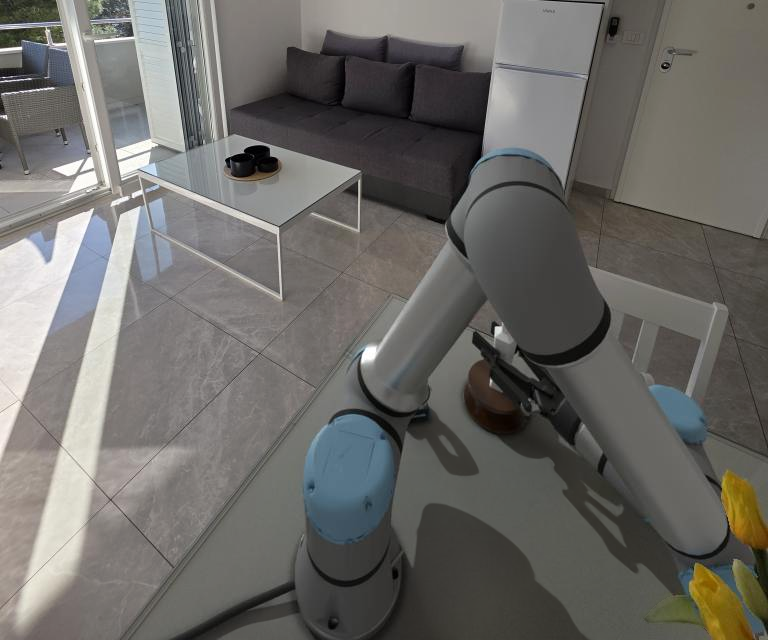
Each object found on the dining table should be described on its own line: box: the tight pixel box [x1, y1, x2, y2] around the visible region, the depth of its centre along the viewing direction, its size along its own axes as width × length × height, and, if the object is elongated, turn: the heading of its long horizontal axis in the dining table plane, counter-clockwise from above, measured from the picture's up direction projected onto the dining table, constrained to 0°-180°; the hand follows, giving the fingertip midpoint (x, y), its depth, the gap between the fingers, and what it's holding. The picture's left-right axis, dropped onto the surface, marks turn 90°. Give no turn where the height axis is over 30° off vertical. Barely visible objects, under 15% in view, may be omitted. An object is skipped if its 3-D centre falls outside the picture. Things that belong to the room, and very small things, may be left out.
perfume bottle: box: [490, 321, 517, 392], centre depth 84 cm, size 5×4×15 cm
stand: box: [462, 358, 528, 435], centre depth 87 cm, size 13×13×5 cm
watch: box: [408, 383, 433, 425], centre depth 83 cm, size 6×8×11 cm
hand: (483, 331), depth 87 cm, fingers closed on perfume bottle, 4 cm apart
